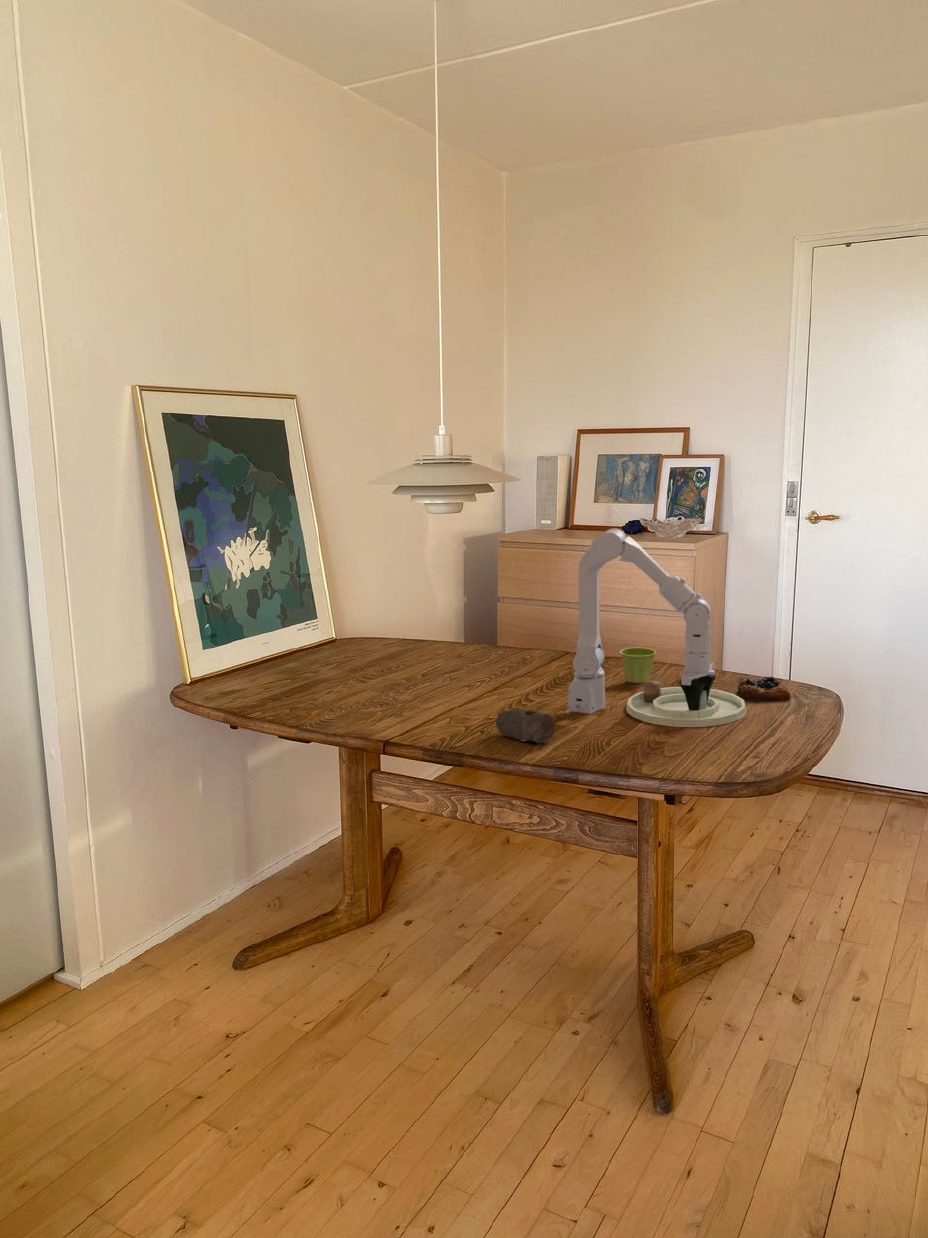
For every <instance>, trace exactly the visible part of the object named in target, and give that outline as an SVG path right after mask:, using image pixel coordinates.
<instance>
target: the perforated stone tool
mask: <svg viewBox="0 0 928 1238" xmlns="http://www.w3.org/2000/svg"><path fill="white" fill-rule="evenodd" d="M495 726H496V728H497V730H498V732H500V733H501V734H502V735H504V737H507V736H508V738H513V737H514V738H517V739H521V740H526V741H528V742H534V743H535V742H536V743H535V744H540V743H539V742H542V743H543V742H548V741H549V740H551V738H553V736H554V734H555V723H554V718H553V717H552V716H551V715H550V714H548V713H545V712H539V711H535V710H531V709H530V710H529V709H508V710H505V711H502V712H500V713H498V715H497V718H496V720H495ZM514 738H513V739H514Z"/></svg>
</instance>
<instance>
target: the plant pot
mask: <svg viewBox="0 0 928 1238" xmlns="http://www.w3.org/2000/svg"><path fill="white" fill-rule="evenodd" d="M619 654H620V655H621V658H622V661H623V662H622V663H623V669H624V674H625V681H626V683H627V682H629V683H634V684H636V683H637V684H642V683H643V684H644V682H645V681H651V675H652V670H653V669H652V668H653V663H654V662H653V661H654V659H655V655H656V654H657V651H656V649H652V648H648V647H626V648H622V649H621V650H620V651H619Z"/></svg>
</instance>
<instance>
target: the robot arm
mask: <svg viewBox="0 0 928 1238" xmlns="http://www.w3.org/2000/svg"><path fill="white" fill-rule="evenodd" d="M619 556H621V557H620V558H619V561H620V562H625V563H632V564H634V565H635V566H636V567H638V568H639V569H640V570H641V571H642V572H643V573H644V574H645V575H646V576H648V577H649V578H650V579H651V580H652V581H654V583H655V584H657V585H658V593H659V595H660V596H662V597H663V598H664V599H665V601H666V602H668V603H669V604H670V605H671V606H672V607H673V608H674V609H675V610H676V611H677V612H678V613H681V614H683V615H682V616H683V620H684V622H685V631H684V669H683V675H681V678H680V679H681V680H679V687H681V688H682V690H683V692H684V694H685V697H686V700H687V704H688V708H689V710H691V711H697V710H699V706H700V698H701V693H702V690H705V691H706V692H707V700H708V696H709V692H710V689H712V685H713V683H714V681H715V680H716V670H714V662H711V630H710V629H711V623H710V620H711V618H712V617H711V616H712V615H711V613H712V608H711V606H710V604H709V602H708V600H707V599H706V598H704V597H702V595H701V593H699V592H698V593H696V592H695V591H694V590H693V589H692V588H691V587H690V586H689V585H687V584H686V582H687V580H686V578H685V577H683V576H681V577H679V575H674V574H673V575H669V574H668V573H667V572H666V571H665V570H664V569H663V567H661V566H660V565H659V564H658V563H657V562H656V561H655V560H654V559H653V557H651V555H650V554H649V553H648V552H647V551H646V550H644V548H643V547H642V546H641V545H640V544H639V543H638V542H636V541H635V539H633V538H632V537H631V536H627V535H626V533H625V532H624V530H622V529H619V528H616V527H615V528H614V527H613V528H609V529H607V530H606V531H604V532H603V533H602V534H600V535H599V536H598V537H596V538H595V539H593V540H592V541H591V542H590V545H589V546H588V548H587V549H586V551H585V552H584V554H583V555H582V557H581V558H580V559H579V562H578V638H577V644H576V653H575V656H574V657H573V660H572V667H573V669H574V672H573V673H574V674H573V676H574V677H573V680H572V681H571V682H570V683H569V685H568V688H567V702H568V709H567V710H565V712H564V713H565V714H569V713H571V712H576V713H580V714H589V715H591V714H593V713H595V712H596V711H600V710H603V709H605V707H606V694H605V693H606V687H605V686H606V685H605V683H606V681H605V679H606V677H605V670H604V669H603V668H602V665H603V663H604V661H605V659H606V653H605V651H604V649H603V647H602V638H601V634H600V570H601V569H602V568H603V566H605V565H606V564H607V563H608V562H610V561H612V560H615V559H616V558H618V557H619Z"/></svg>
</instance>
